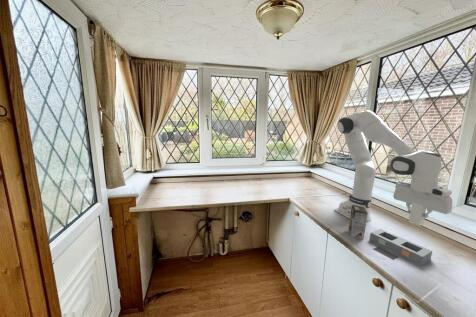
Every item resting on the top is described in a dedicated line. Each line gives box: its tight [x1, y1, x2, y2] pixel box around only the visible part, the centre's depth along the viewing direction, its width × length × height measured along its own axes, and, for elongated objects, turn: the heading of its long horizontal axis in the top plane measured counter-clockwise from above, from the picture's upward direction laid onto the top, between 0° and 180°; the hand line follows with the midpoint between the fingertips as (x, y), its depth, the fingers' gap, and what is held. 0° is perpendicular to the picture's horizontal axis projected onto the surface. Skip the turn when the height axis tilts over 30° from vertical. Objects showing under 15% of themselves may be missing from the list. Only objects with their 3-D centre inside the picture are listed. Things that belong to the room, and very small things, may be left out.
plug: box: [408, 202, 427, 227], centre depth 92 cm, size 4×4×11 cm
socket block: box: [369, 228, 433, 267], centre depth 100 cm, size 22×10×5 cm, turn 28°
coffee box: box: [348, 205, 368, 240], centre depth 112 cm, size 9×6×16 cm
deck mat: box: [372, 246, 399, 261], centre depth 97 cm, size 9×5×1 cm, turn 28°
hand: (417, 215), depth 92 cm, fingers closed on plug, 4 cm apart
